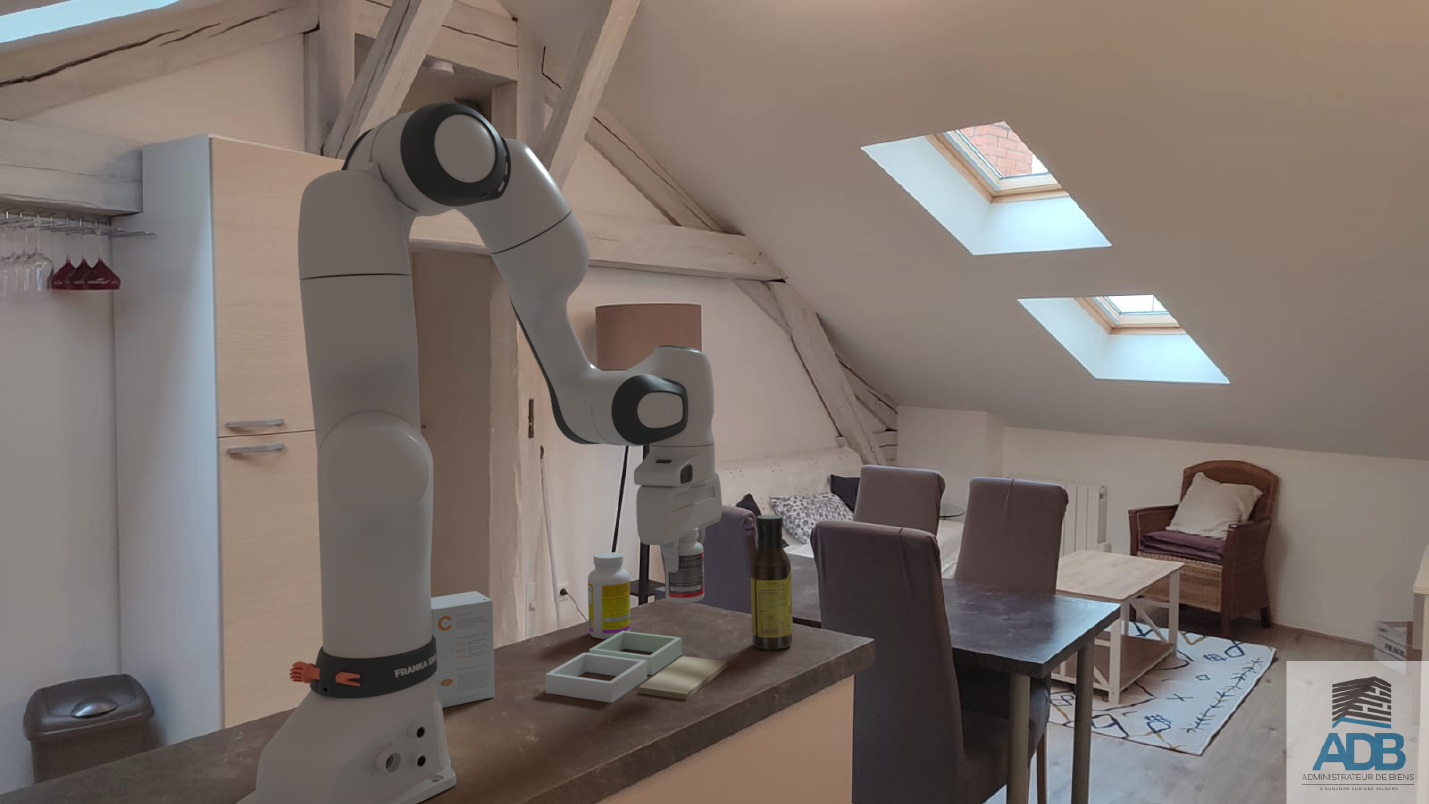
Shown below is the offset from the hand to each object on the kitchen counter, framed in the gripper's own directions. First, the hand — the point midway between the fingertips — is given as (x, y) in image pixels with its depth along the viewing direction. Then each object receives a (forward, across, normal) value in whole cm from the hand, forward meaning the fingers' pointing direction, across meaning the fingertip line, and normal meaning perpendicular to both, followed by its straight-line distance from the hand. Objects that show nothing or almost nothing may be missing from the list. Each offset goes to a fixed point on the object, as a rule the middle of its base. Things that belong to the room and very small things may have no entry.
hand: (683, 565), depth 132 cm
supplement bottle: (+16, -15, -20) cm, 30 cm away
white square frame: (+16, +7, -10) cm, 20 cm away
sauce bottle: (+16, -19, +6) cm, 26 cm away
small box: (+16, +17, -25) cm, 34 cm away
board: (+16, 0, 0) cm, 16 cm away
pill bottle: (+5, 0, 0) cm, 5 cm away
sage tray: (+16, -5, -10) cm, 19 cm away
